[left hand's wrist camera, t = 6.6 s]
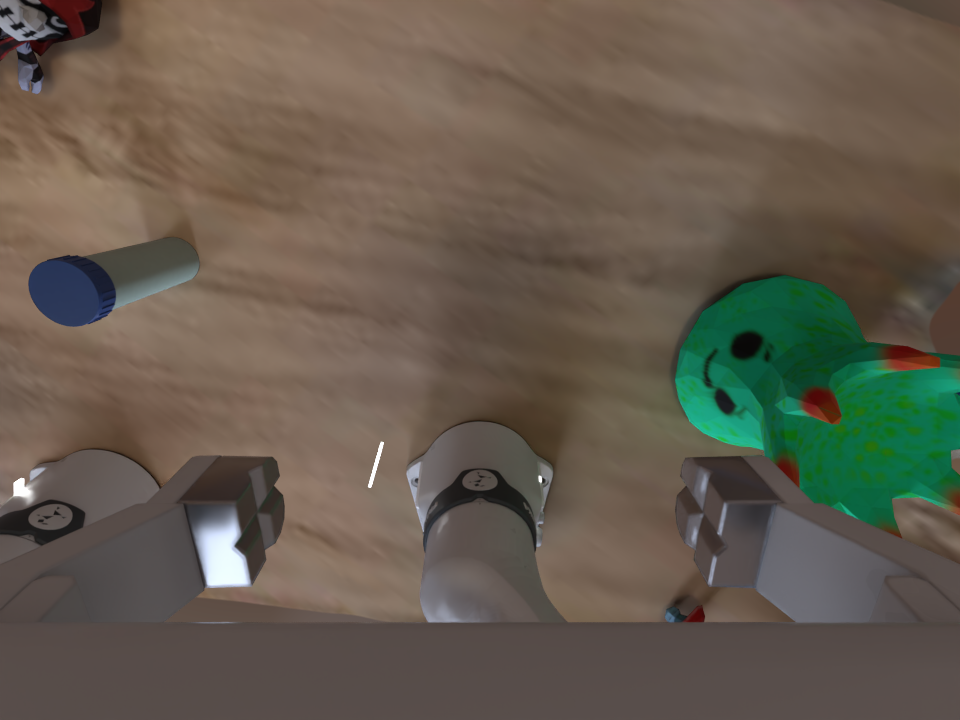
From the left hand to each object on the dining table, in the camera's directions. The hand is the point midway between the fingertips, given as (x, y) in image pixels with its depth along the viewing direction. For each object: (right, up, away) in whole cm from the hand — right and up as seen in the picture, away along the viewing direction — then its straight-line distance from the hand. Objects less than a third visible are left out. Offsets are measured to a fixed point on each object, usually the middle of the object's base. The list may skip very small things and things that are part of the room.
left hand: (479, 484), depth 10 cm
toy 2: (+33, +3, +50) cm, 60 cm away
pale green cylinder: (-34, +14, +46) cm, 59 cm away
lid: (-34, +8, +31) cm, 46 cm away
